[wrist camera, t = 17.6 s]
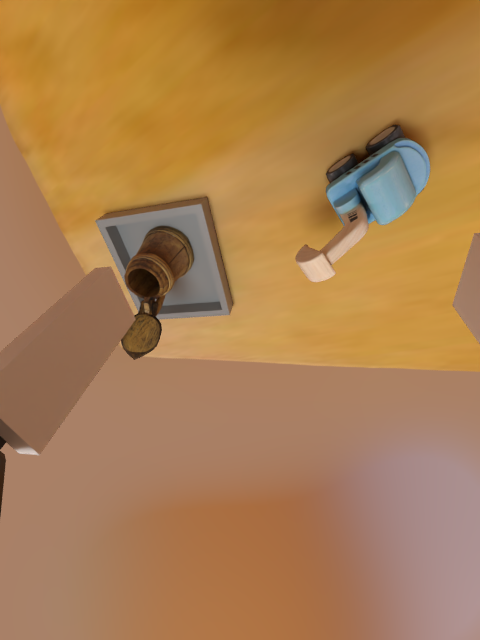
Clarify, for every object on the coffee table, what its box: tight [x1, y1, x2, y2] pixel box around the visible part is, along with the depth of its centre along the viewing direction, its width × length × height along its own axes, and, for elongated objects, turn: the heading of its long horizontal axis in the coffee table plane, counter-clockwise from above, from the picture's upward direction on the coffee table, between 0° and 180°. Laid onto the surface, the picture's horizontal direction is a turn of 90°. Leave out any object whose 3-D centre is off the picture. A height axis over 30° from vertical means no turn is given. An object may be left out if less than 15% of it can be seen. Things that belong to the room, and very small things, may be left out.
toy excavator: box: [296, 125, 430, 282], centre depth 35 cm, size 9×17×17 cm, turn 128°
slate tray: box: [96, 197, 233, 319], centre depth 52 cm, size 20×18×4 cm
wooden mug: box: [121, 226, 194, 360], centre depth 46 cm, size 9×14×18 cm, turn 178°
